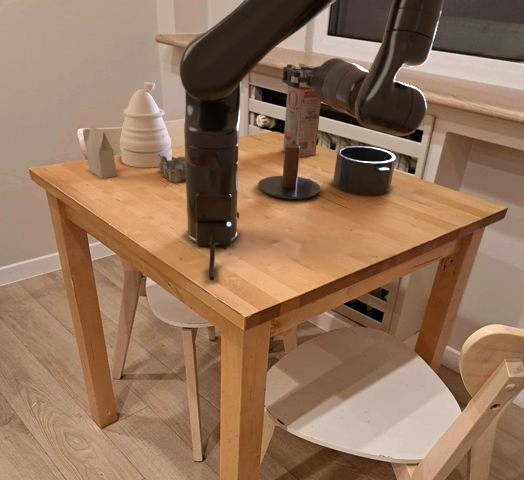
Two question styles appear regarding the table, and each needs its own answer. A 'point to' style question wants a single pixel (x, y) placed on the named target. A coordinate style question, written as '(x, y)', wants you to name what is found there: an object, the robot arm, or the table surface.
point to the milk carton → (302, 118)
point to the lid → (289, 179)
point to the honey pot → (144, 131)
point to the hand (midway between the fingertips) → (308, 70)
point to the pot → (363, 170)
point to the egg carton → (173, 168)
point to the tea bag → (100, 154)
